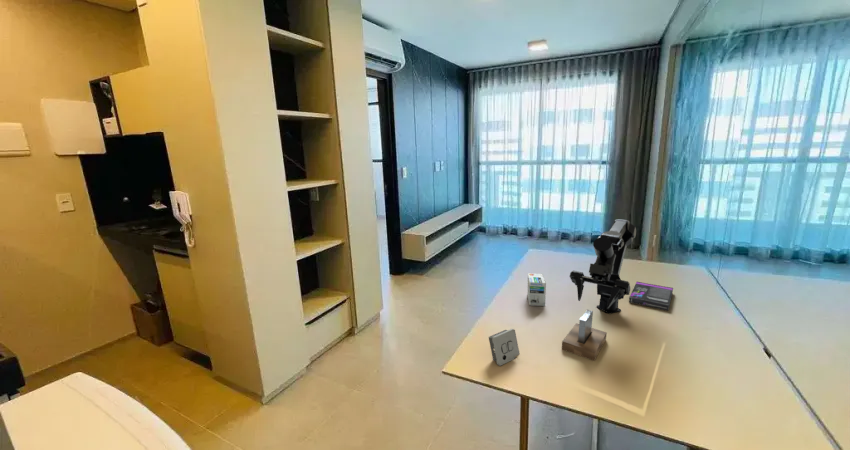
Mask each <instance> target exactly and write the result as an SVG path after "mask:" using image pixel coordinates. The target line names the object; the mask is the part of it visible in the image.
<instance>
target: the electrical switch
mask: <svg viewBox="0 0 850 450" xmlns="http://www.w3.org/2000/svg"><path fill="white" fill-rule="evenodd" d="M488 341H489V347H490V352H491V356H492V361H495V362H496V365H497V366H503V365H504V364H505V365H506V364H508V363H509V362H511V361H513V360H515V359H517V357H516V356H518V355H520V349H519V345H518V344H519V343H518V339H517V333H516V330H515V328H510V329H508V330H507V329H504V330H502V331H499V332H497V333H495V334H492V335H490V336H489V337H488Z"/></svg>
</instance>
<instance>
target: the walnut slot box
mask: <svg viewBox="0 0 850 450" xmlns="http://www.w3.org/2000/svg"><path fill="white" fill-rule="evenodd" d="M607 334H608V332H606V331H605V330H604V331H603V330H600V329H596V328H593V327H592V329H591V335H590V337H589V338H588V340H587V341H586V343H585V344H583V343H580V342H578V336H579V323H575V324H574V325H573V326H572V328H571V329H570V330H569V332H568V333H567V334H566V336H565V337H564V338H563V340H561V350H563V351H566V352H569V353H571V354H574V355H577V356H580V357H583V358H586V359H587V360H591V361H595V360H596V358H597V357H598V355H599V353H600V351H601V350H602V348H603V346H604V344H605V343H606V341H607Z"/></svg>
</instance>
